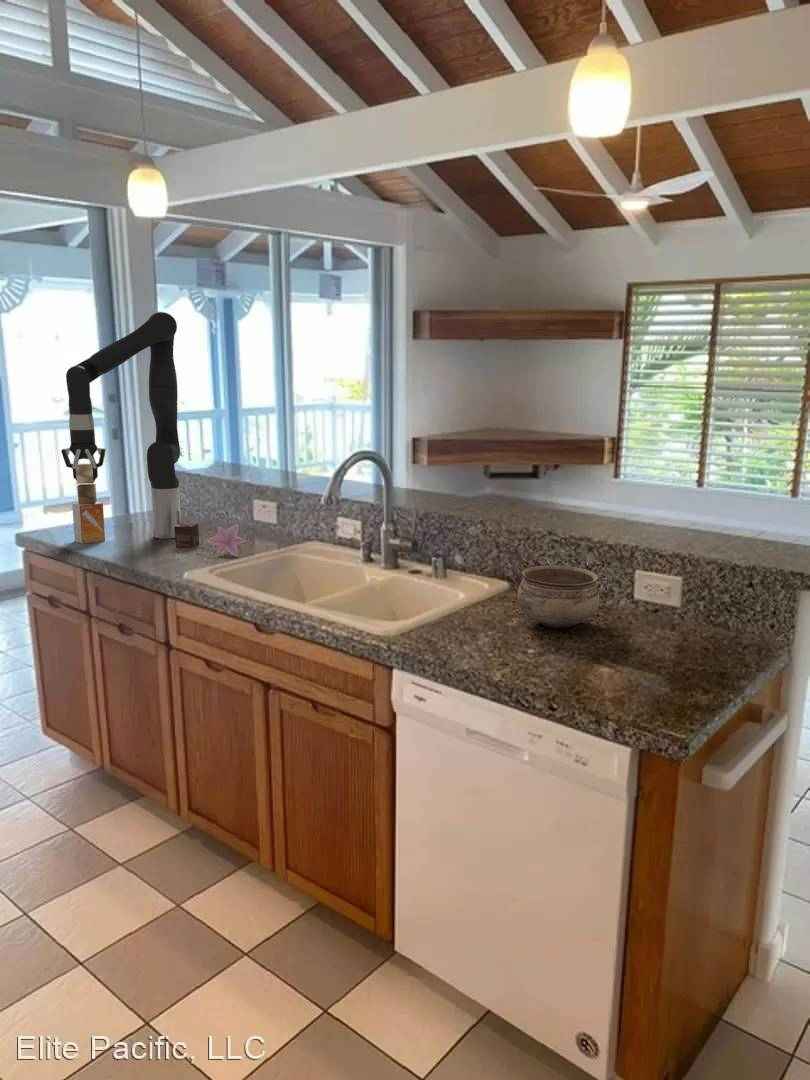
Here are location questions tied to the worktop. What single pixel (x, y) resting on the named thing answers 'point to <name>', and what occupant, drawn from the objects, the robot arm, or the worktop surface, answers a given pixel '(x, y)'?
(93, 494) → the walnut block
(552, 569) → the cooking pot
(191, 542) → the box
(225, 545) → the lily
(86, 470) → the maple block
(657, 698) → the worktop surface
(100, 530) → the small box
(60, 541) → the worktop surface
